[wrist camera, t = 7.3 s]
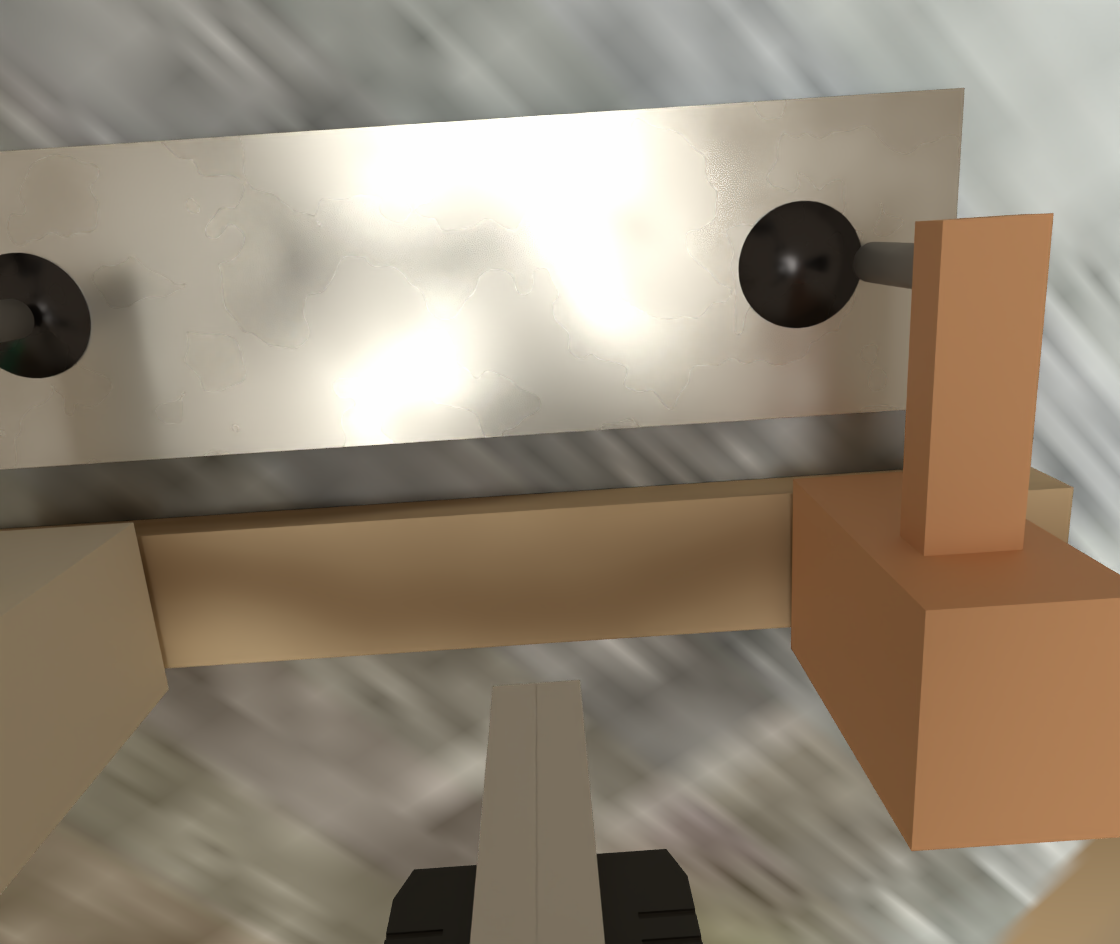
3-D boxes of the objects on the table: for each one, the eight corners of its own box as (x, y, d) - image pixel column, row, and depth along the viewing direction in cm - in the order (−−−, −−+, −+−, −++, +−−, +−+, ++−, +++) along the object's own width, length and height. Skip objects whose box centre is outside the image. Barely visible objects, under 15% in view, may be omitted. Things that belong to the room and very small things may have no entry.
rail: (-103, 519, 24) (-225, 573, 21) (990, 447, 24) (1073, 487, 21) (-58, 674, 26) (-164, 752, 22) (977, 606, 26) (1053, 672, 22)
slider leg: (793, 226, 21) (948, 223, 13) (954, 215, 21) (1208, 205, 13) (789, 644, 24) (911, 850, 16) (928, 635, 24) (1121, 837, 16)
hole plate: (-142, 165, 22) (-175, 162, 21) (945, 94, 22) (965, 87, 21) (-60, 465, 24) (-87, 475, 23) (928, 400, 24) (946, 407, 23)
